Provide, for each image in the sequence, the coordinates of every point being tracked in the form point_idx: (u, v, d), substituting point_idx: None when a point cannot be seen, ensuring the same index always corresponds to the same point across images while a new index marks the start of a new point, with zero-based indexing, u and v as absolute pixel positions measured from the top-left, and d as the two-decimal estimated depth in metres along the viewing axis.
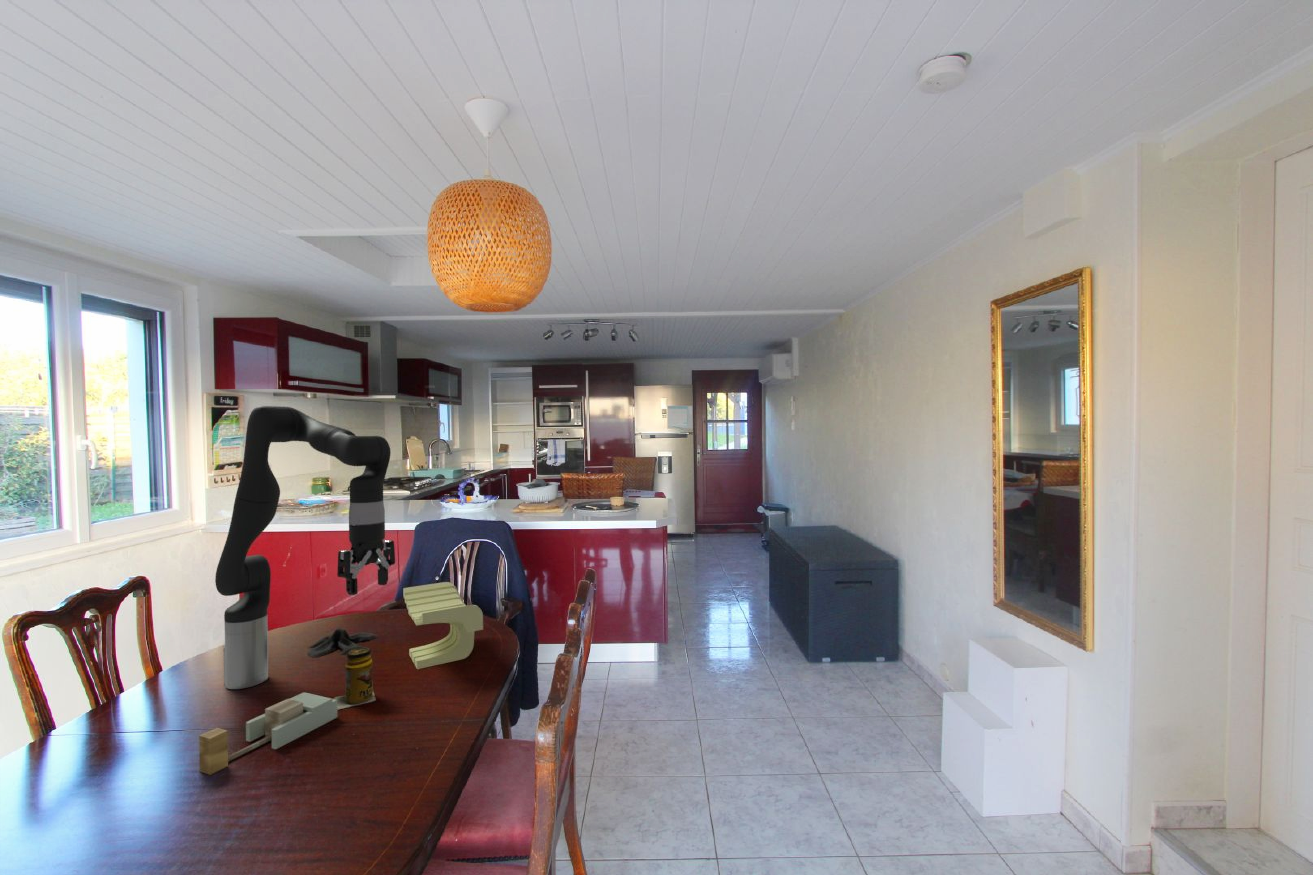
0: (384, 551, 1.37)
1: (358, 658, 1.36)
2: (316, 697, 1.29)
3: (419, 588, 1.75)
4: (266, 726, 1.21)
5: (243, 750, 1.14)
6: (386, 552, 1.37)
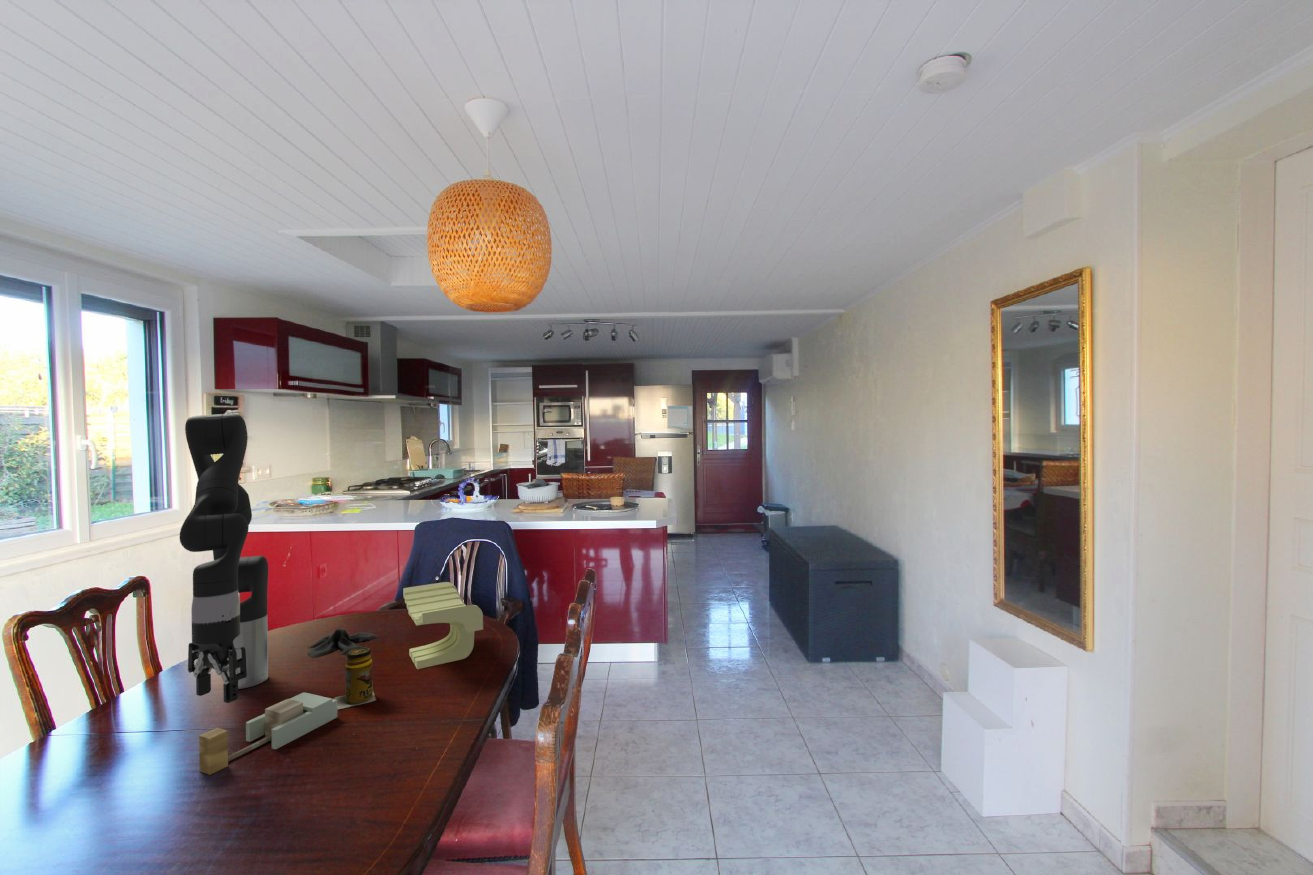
0: (194, 655, 1.12)
1: (358, 658, 1.36)
2: (316, 697, 1.29)
3: (419, 588, 1.75)
4: (266, 726, 1.21)
5: (243, 750, 1.14)
6: (197, 655, 1.12)
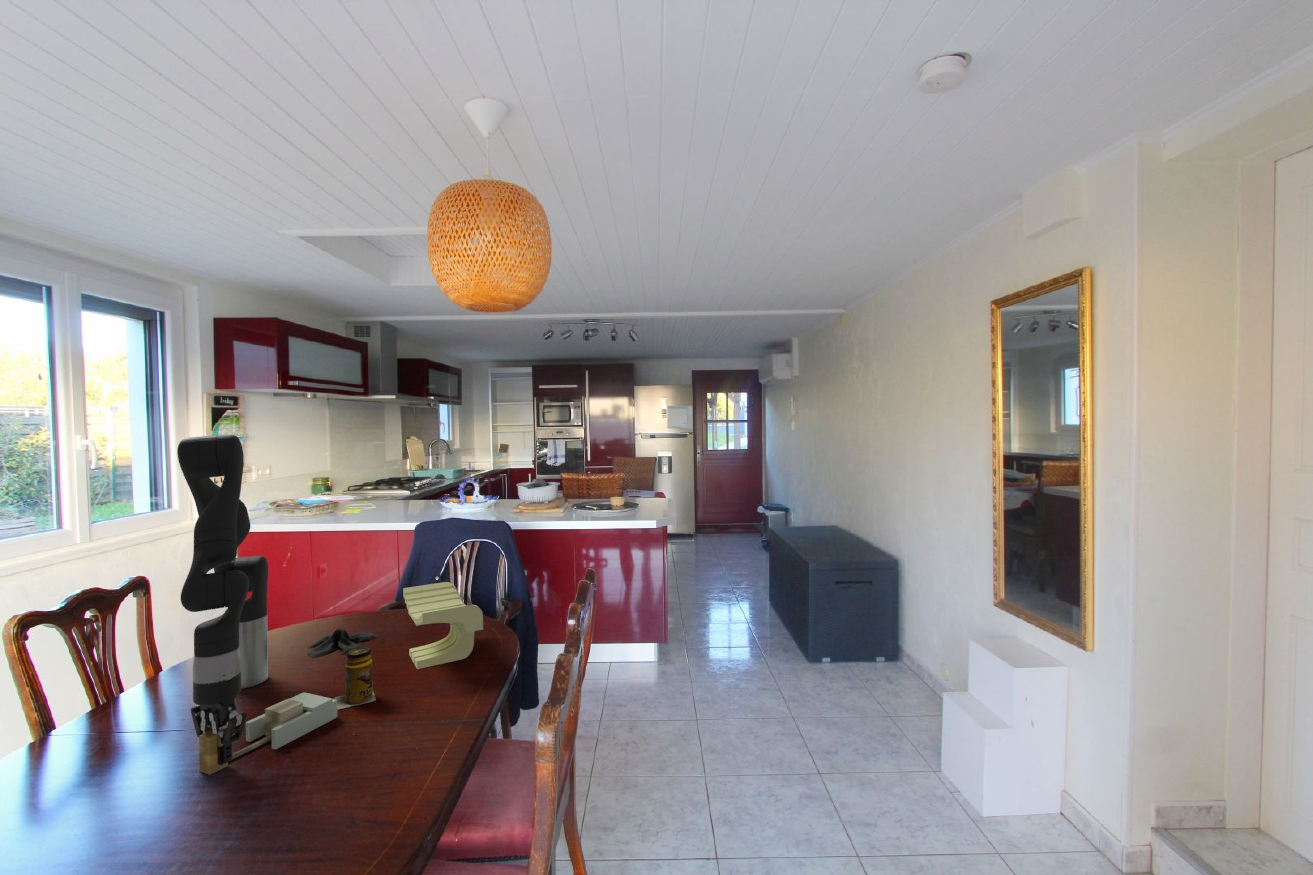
0: (199, 719, 1.11)
1: (358, 658, 1.36)
2: (316, 697, 1.29)
3: (419, 588, 1.75)
4: (266, 726, 1.21)
5: (243, 750, 1.14)
6: None
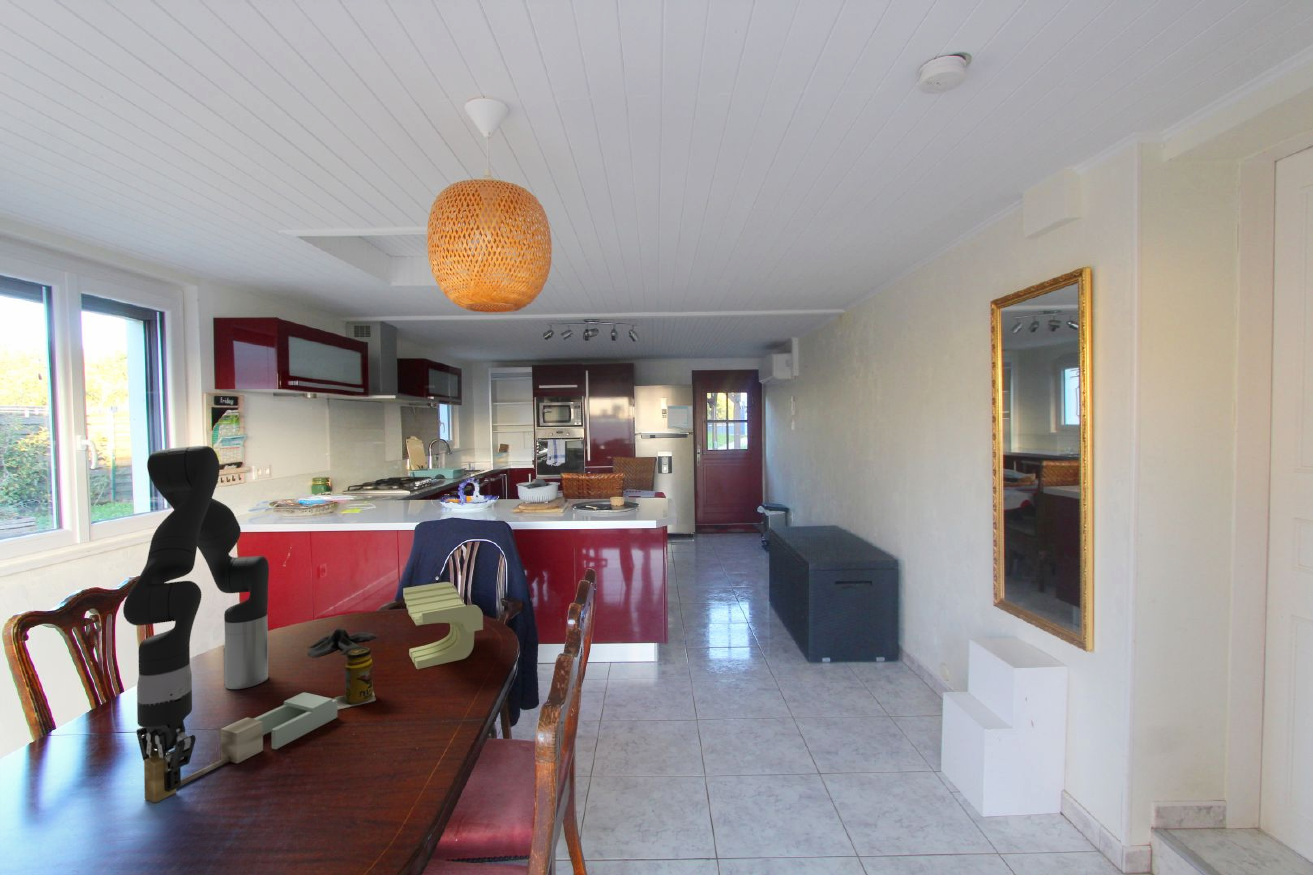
0: (145, 741, 1.03)
1: (358, 658, 1.36)
2: (316, 697, 1.29)
3: (419, 588, 1.75)
4: (222, 747, 1.13)
5: (194, 774, 1.06)
6: None
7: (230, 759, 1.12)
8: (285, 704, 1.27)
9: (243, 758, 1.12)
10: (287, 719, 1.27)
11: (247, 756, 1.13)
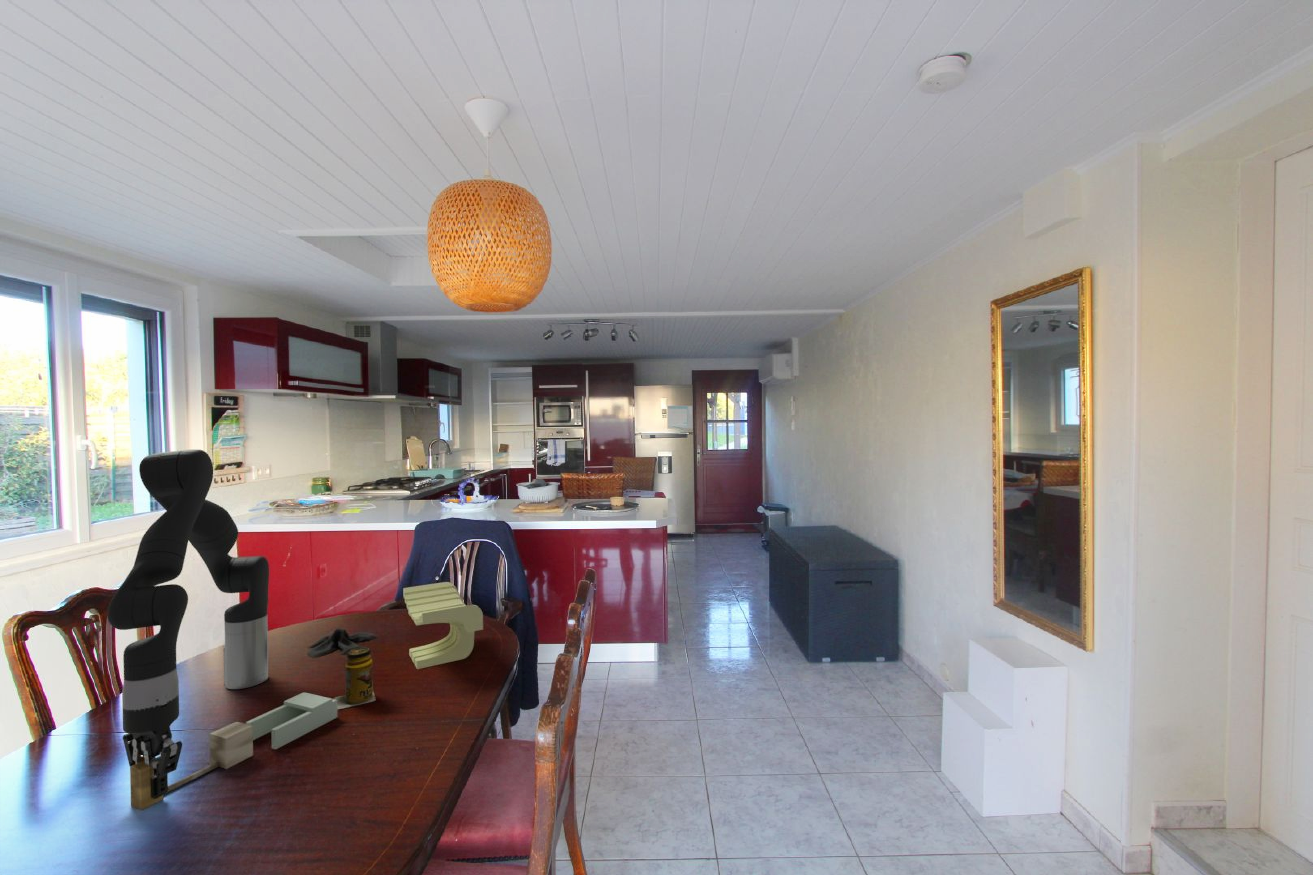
0: (132, 747, 1.01)
1: (358, 658, 1.36)
2: (316, 697, 1.29)
3: (419, 588, 1.75)
4: (211, 752, 1.11)
5: (182, 780, 1.04)
6: None
7: (219, 765, 1.10)
8: (285, 704, 1.27)
9: (232, 763, 1.10)
10: (287, 719, 1.27)
11: (236, 761, 1.11)
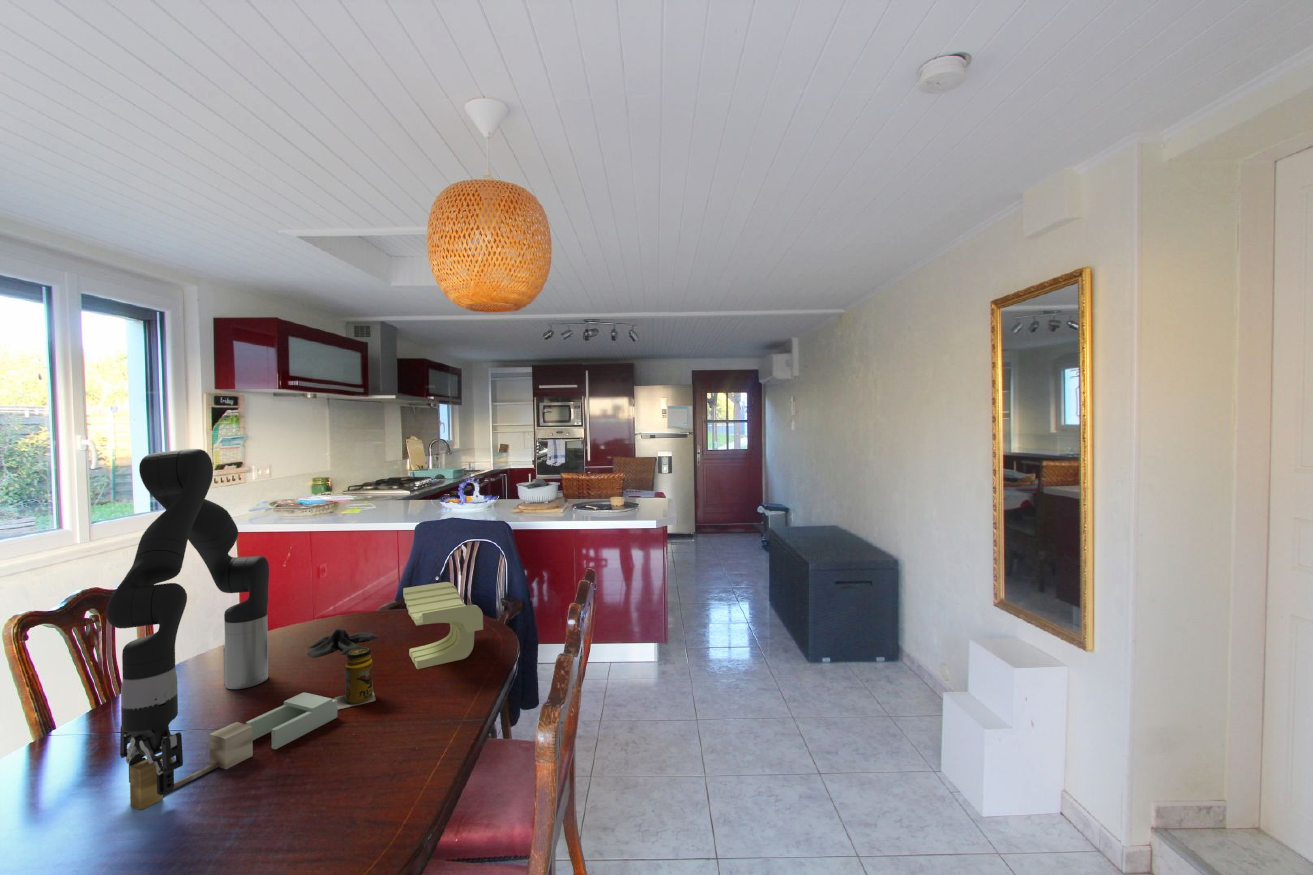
0: (127, 739, 1.02)
1: (358, 658, 1.36)
2: (316, 697, 1.29)
3: (419, 588, 1.75)
4: (211, 753, 1.11)
5: (182, 781, 1.04)
6: (131, 738, 1.02)
7: (219, 765, 1.10)
8: (285, 704, 1.27)
9: (232, 764, 1.10)
10: (287, 719, 1.27)
11: (236, 761, 1.11)
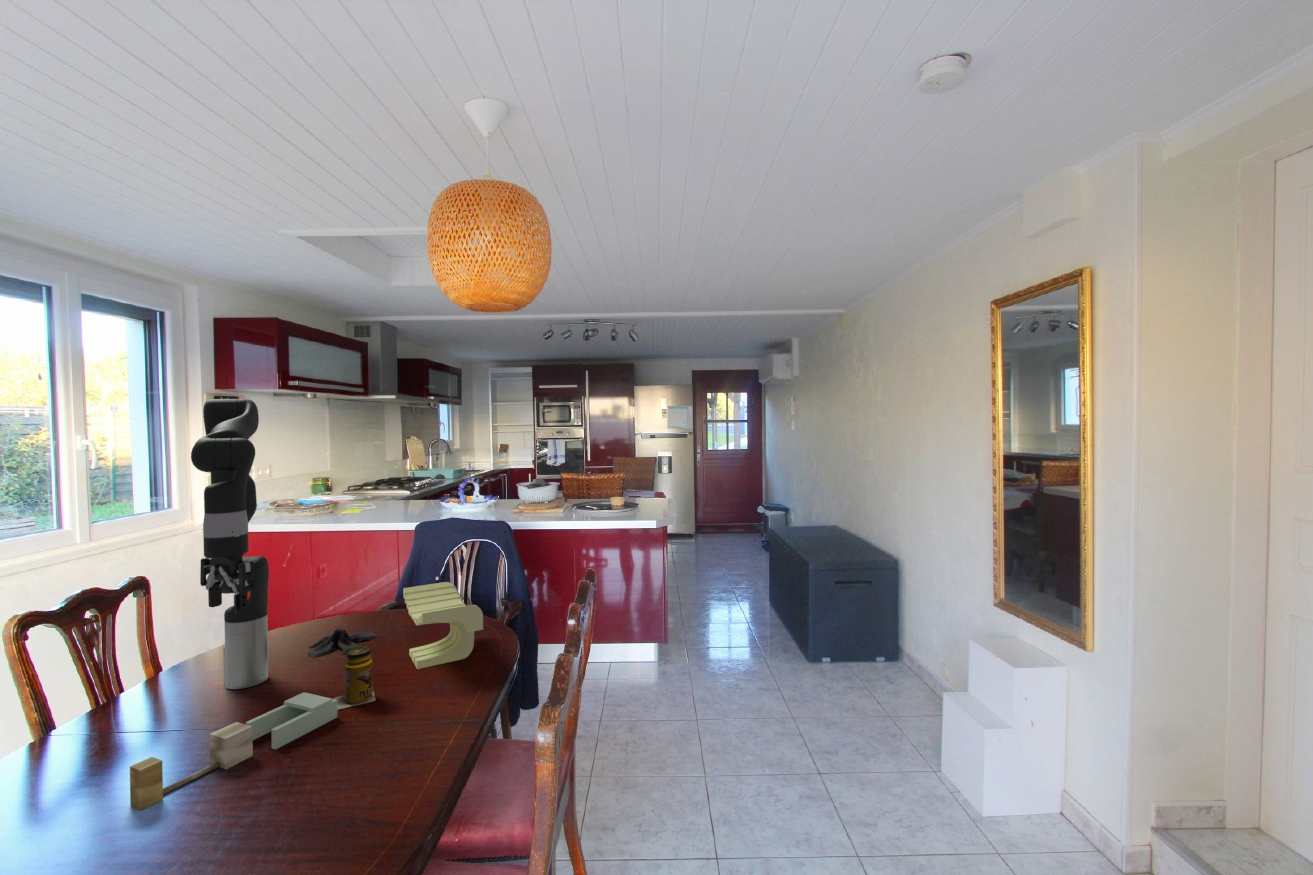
0: (206, 570, 1.20)
1: (358, 658, 1.36)
2: (316, 697, 1.29)
3: (419, 588, 1.75)
4: (211, 753, 1.11)
5: (182, 781, 1.04)
6: (209, 571, 1.20)
7: (219, 765, 1.10)
8: (285, 704, 1.27)
9: (232, 764, 1.10)
10: (287, 719, 1.27)
11: (236, 761, 1.11)
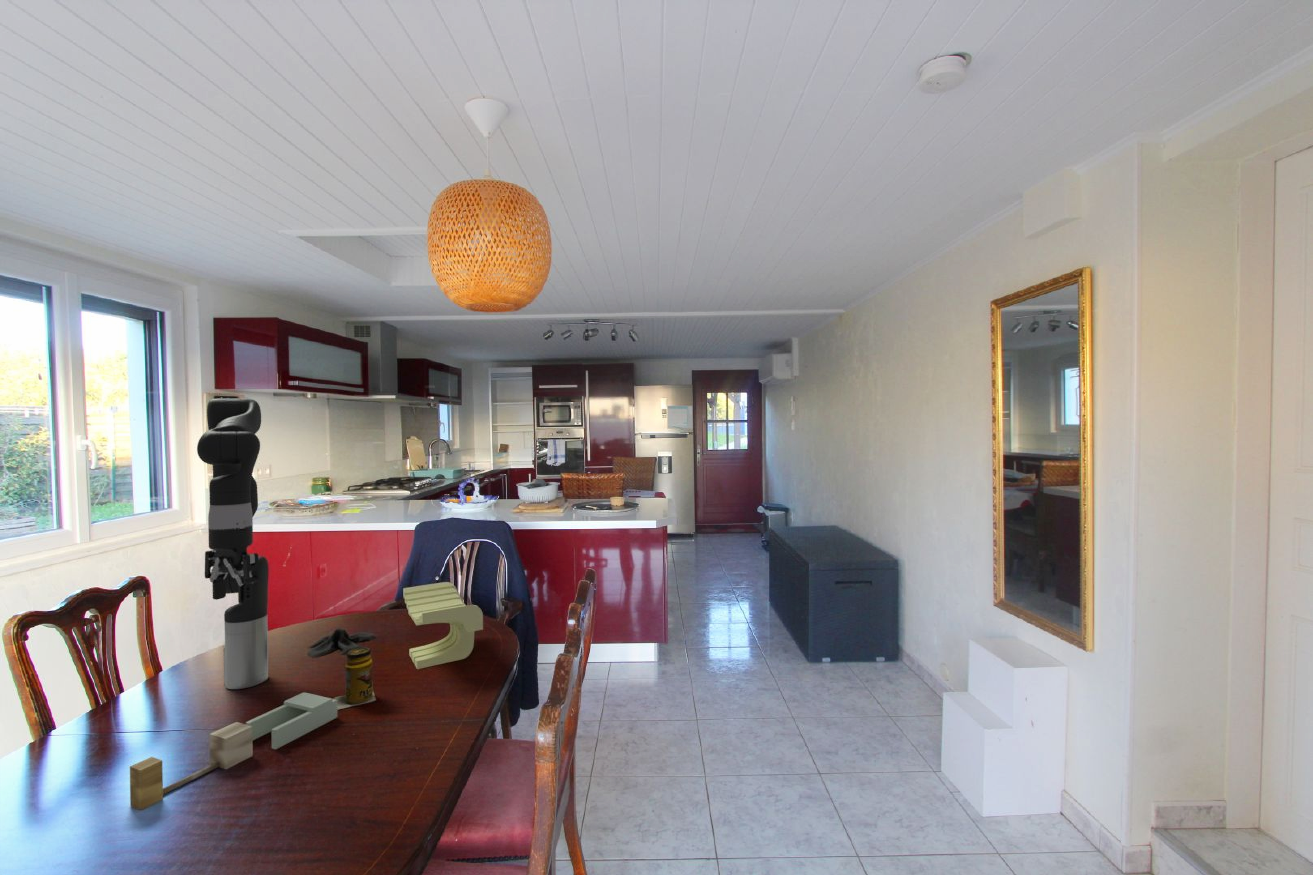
0: (210, 563, 1.21)
1: (358, 658, 1.36)
2: (316, 697, 1.29)
3: (419, 588, 1.75)
4: (211, 753, 1.11)
5: (182, 781, 1.04)
6: (213, 563, 1.21)
7: (219, 765, 1.10)
8: (285, 704, 1.27)
9: (232, 764, 1.10)
10: (287, 719, 1.27)
11: (236, 761, 1.11)
